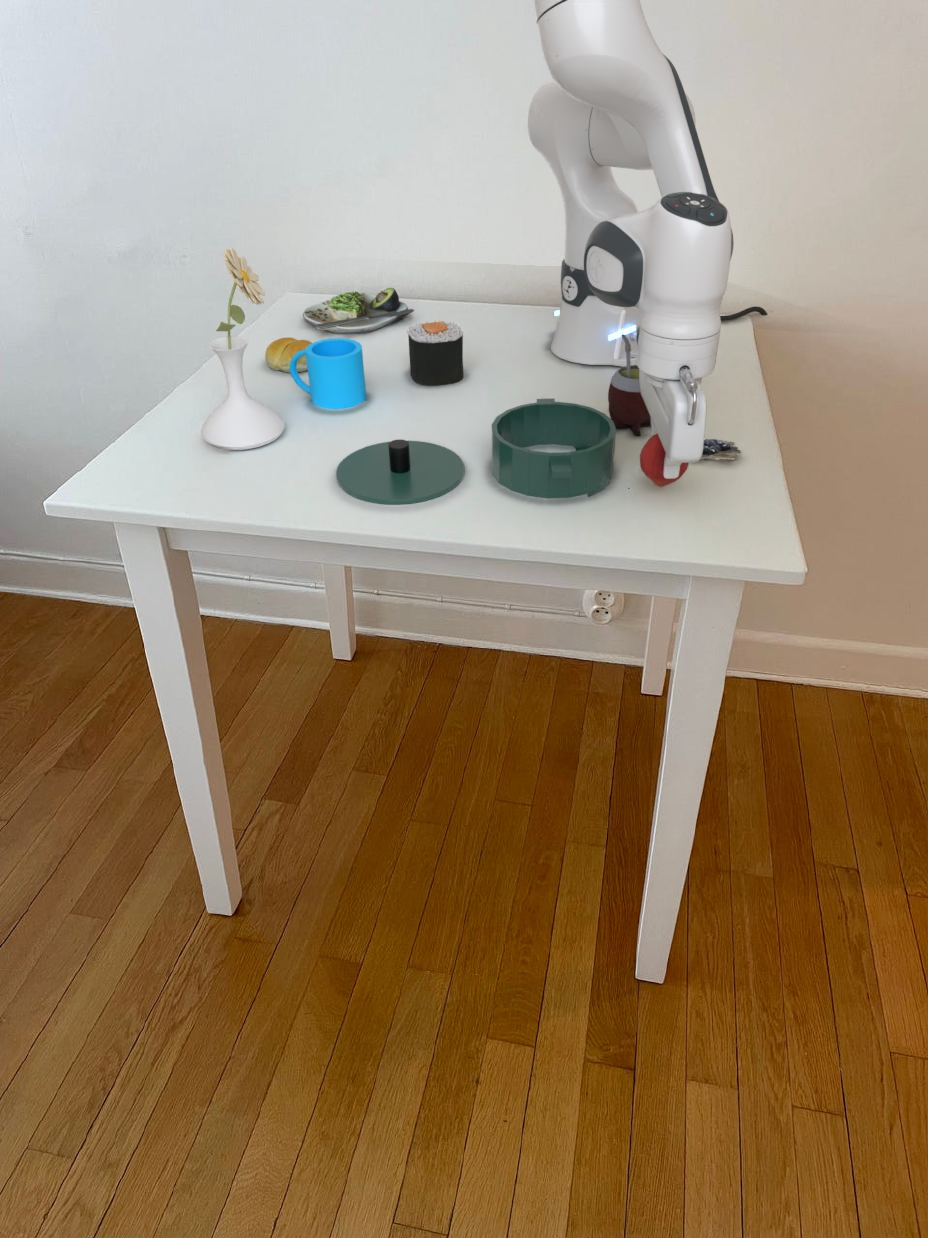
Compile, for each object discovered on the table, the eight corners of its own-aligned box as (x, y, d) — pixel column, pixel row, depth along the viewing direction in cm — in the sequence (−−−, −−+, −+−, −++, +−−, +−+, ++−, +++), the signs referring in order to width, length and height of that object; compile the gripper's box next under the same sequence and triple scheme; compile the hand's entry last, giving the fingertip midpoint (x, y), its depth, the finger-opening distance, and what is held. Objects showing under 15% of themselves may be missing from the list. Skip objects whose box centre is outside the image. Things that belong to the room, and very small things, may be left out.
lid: (462, 446, 129) (462, 414, 126) (466, 506, 116) (465, 472, 113) (342, 450, 129) (338, 418, 126) (331, 510, 116) (327, 476, 113)
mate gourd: (647, 414, 136) (657, 309, 127) (665, 437, 130) (678, 329, 121) (596, 418, 135) (603, 314, 127) (613, 442, 129) (621, 334, 120)
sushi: (404, 370, 151) (401, 320, 147) (454, 363, 153) (452, 314, 149) (417, 389, 145) (415, 338, 140) (469, 381, 147) (468, 331, 142)
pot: (599, 435, 131) (603, 391, 127) (624, 511, 114) (628, 463, 111) (488, 438, 131) (488, 394, 127) (496, 515, 114) (496, 467, 110)
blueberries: (746, 464, 123) (748, 451, 122) (685, 467, 123) (687, 454, 122) (730, 441, 129) (732, 428, 128) (672, 444, 128) (673, 431, 127)
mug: (376, 394, 144) (371, 342, 139) (350, 416, 138) (344, 361, 133) (307, 383, 148) (301, 332, 143) (279, 404, 142) (271, 351, 137)
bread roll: (288, 350, 159) (285, 327, 157) (330, 361, 155) (327, 336, 153) (254, 367, 154) (250, 342, 151) (296, 377, 150) (293, 353, 147)
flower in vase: (260, 463, 126) (229, 271, 112) (187, 451, 130) (147, 263, 115) (306, 423, 136) (283, 242, 121) (237, 413, 140) (206, 235, 125)
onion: (682, 475, 120) (690, 416, 115) (686, 498, 115) (695, 437, 110) (636, 474, 120) (642, 415, 115) (638, 496, 116) (644, 436, 111)
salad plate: (351, 348, 160) (348, 320, 157) (278, 326, 169) (275, 300, 166) (425, 316, 172) (424, 290, 169) (354, 297, 181) (352, 273, 178)
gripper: (727, 387, 99) (709, 503, 107) (686, 320, 115) (673, 425, 124) (667, 388, 99) (653, 504, 107) (634, 321, 115) (624, 426, 124)
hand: (663, 461), depth 116 cm, fingers closed on onion, 6 cm apart
